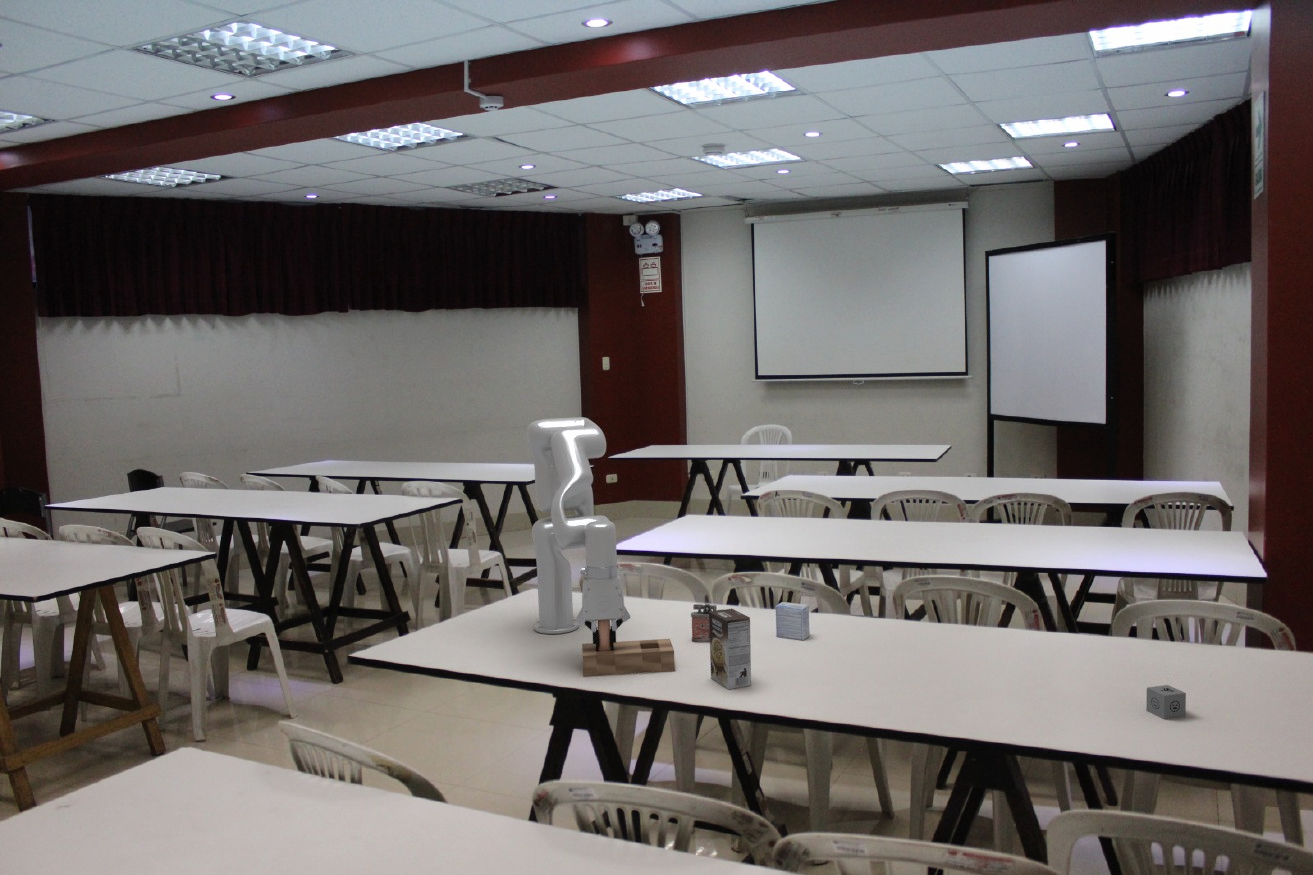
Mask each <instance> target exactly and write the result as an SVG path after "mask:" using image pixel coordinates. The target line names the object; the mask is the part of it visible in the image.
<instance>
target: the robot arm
mask: <svg viewBox="0 0 1313 875" xmlns="http://www.w3.org/2000/svg"><path fill="white" fill-rule="evenodd" d="M606 440H607V439H606V437H605V434H604V432H603V430H602V429H601V428H600V426H598V425H597V424H596V423H595V422H593V421H592V420H591V419H589V418H587V417H584V416H582V417H581V416H579V417H577V416H576V417H555V418H543V419H537V420H535V421H532V422H531V423H529V425H528V426H527V428H526V442H527V447H528V450H529V452H530V455H531V457H532V460H533V466H534V482H535V484H534V486H535V501H536V506H537V508H538V510H540V512H542V513H550V516H549V517H544V518H540V519H538V520H537V521H535V523H534V524H533V525H532V527H531V528H532V529H531V537H532V540H533V541H532V542H533V547H534V551H535V559H536V560H535V561H536V573H537V576H536V577H537V580H536V581H537V597H538V598H537V600H538V601H537V602H538V618H539V619H538V622H536V623H534V625H533V630H534V631H535V632H536V633H540V634H547V635H553V634H555V635H556V634H557V635H558V634H566V633H570V632H573V631H575V630H577V629H578V628H579V627H580V624H582V625H584V626H586V627H587V628H588V629H589V631H591V634H592V643H593V644H596V648H599V637H598V620H610V644H611V647H614V644H613V643H616V642H617V630H618V629H619V627H620V626H621V625H622V624H623V623H625V622H628V620H630V619H631V615H630V613H629V611H628V609H627V608H626V607H625V600H624V599H625V597H624V588H623V582H622V578H621V576H620V575H618V558H617V554H618V553H617V530H616V529H617V528H616V524H615V523H614V522H612V521H610V519H609V518H608V517H607V516H605V515H601V514H600V515H595V512H594V511H595V510H594V493H593V488H592V484H593V482H594V475H593V473H592V468H591V465H590V462H589V459H598V458H602V457H603V456H604V455H605V454H606V452H607V441H606ZM571 511H574V513H575V514H570V515H569V514H568V515H565V512H571ZM584 548H585V566H584V567H582V568H580V569H579V571H580V574H581V575H584V578H583V580H582V581H583V582H582V590H581V592H582V594H581V609H580V611H579V612H578V615H577V617H576V619H574V610H573V609H574V608H573V606H574V605H573V604H574V603H573V585H572V583H573V581H572V566H571V563H570V561H569V560H568V558H566V556H564V555H563V553H562V552H563V551H568V550H573V549H574V550H575V549H577V550H578V549H584Z"/></svg>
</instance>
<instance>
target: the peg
mask: <svg viewBox="0 0 1313 875" xmlns="http://www.w3.org/2000/svg"><path fill="white" fill-rule="evenodd" d="M610 628H611V620H597V630H598V637H599V652H602V651H611V644H610Z"/></svg>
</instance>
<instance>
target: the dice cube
mask: <svg viewBox="0 0 1313 875" xmlns="http://www.w3.org/2000/svg"><path fill="white" fill-rule="evenodd" d="M1186 696H1187V692H1184V691H1182V690H1180V689H1178V688H1175V687H1173V686H1171V685H1169V684H1163V685H1155V686H1149V687H1146V712H1148V713H1150V714H1151V715H1154V716H1157V717H1158V718H1161V719H1162V720H1164V721H1165V720H1171V719H1179V718H1185V717H1186V715H1187V714H1186V711H1187V710H1186V709H1187V705H1186V704H1187V700H1186V699H1187V697H1186Z"/></svg>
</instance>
